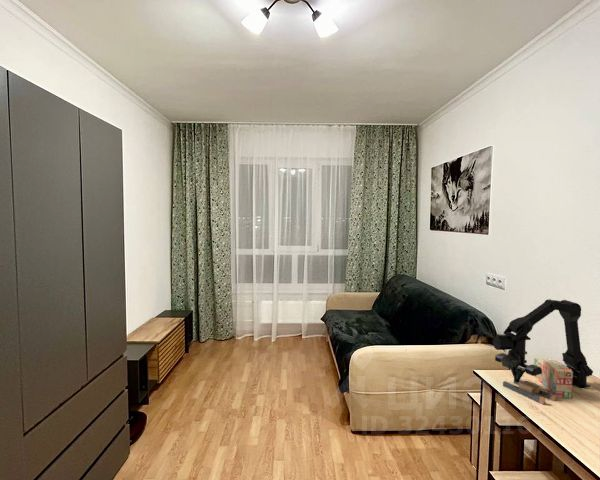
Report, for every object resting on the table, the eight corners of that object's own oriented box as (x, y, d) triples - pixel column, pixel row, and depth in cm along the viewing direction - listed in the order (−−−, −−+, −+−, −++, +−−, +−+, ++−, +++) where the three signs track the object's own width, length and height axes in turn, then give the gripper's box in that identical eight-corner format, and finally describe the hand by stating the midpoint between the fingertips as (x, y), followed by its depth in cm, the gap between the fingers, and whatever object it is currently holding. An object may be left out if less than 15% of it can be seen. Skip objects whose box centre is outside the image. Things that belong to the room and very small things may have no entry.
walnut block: (525, 389, 162) (526, 380, 161) (539, 395, 156) (539, 386, 156) (518, 391, 160) (518, 382, 159) (531, 397, 154) (531, 388, 154)
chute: (515, 382, 168) (515, 376, 168) (556, 400, 151) (556, 394, 151) (502, 385, 164) (503, 380, 164) (543, 404, 148) (543, 399, 148)
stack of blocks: (533, 375, 175) (534, 351, 174) (547, 376, 173) (548, 352, 172) (555, 397, 154) (556, 370, 153) (571, 399, 152) (573, 371, 152)
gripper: (487, 344, 167) (486, 377, 168) (526, 359, 150) (525, 395, 151) (503, 341, 171) (502, 372, 173) (543, 354, 154) (542, 389, 155)
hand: (516, 382), depth 163 cm, fingers closed
